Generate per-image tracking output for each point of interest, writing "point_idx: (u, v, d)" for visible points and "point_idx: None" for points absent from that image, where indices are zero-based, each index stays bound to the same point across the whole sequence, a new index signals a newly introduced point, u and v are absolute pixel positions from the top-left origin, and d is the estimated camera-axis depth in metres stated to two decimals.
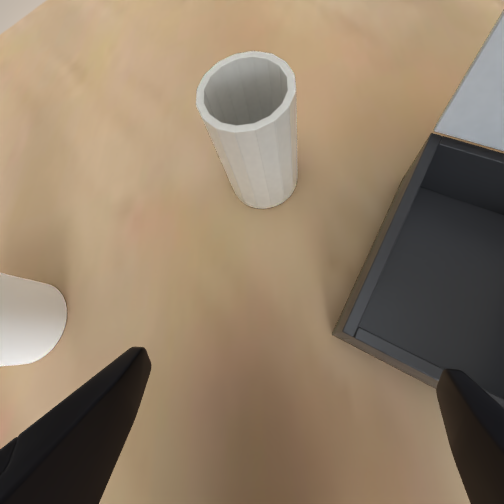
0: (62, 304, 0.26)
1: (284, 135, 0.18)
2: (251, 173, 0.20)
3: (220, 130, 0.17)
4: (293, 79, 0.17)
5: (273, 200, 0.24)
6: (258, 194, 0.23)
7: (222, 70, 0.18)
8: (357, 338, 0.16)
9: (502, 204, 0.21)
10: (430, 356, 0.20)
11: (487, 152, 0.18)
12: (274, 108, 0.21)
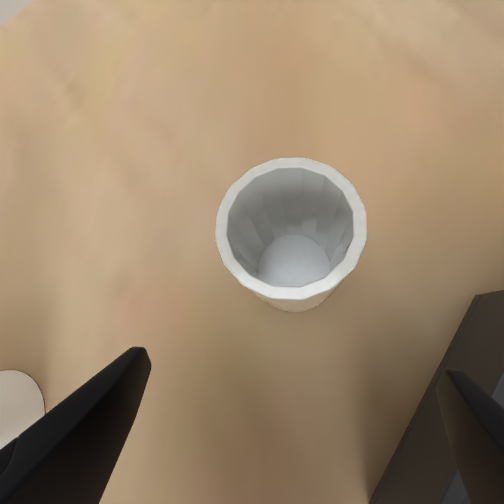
0: (39, 406, 0.21)
1: (338, 284, 0.13)
2: (283, 306, 0.15)
3: (248, 288, 0.11)
4: (363, 219, 0.11)
5: (304, 310, 0.19)
6: (287, 309, 0.18)
7: (256, 180, 0.13)
8: None
9: None
10: None
11: None
12: (320, 213, 0.16)
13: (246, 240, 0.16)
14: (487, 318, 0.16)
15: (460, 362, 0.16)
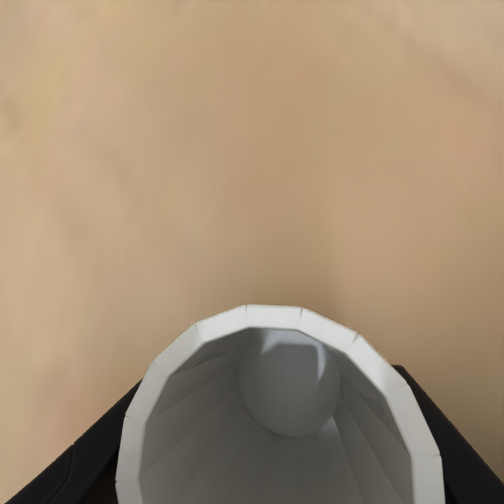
0: None
1: None
2: None
3: None
4: (438, 482, 0.05)
5: None
6: None
7: (206, 345, 0.06)
8: None
9: None
10: None
11: None
12: None
13: (208, 383, 0.10)
14: None
15: None
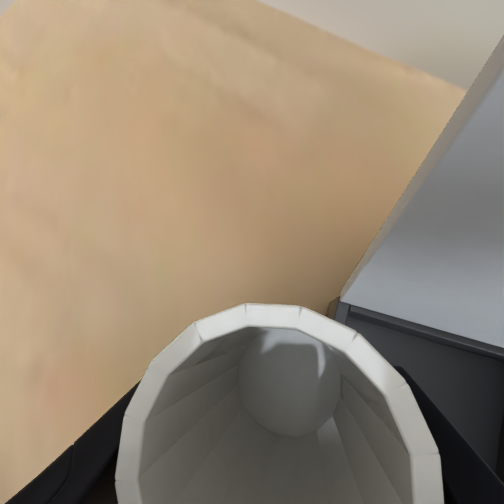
0: None
1: None
2: None
3: None
4: (436, 480, 0.05)
5: None
6: None
7: (205, 344, 0.06)
8: None
9: (433, 340, 0.19)
10: None
11: None
12: (330, 347, 0.09)
13: (208, 382, 0.10)
14: None
15: None
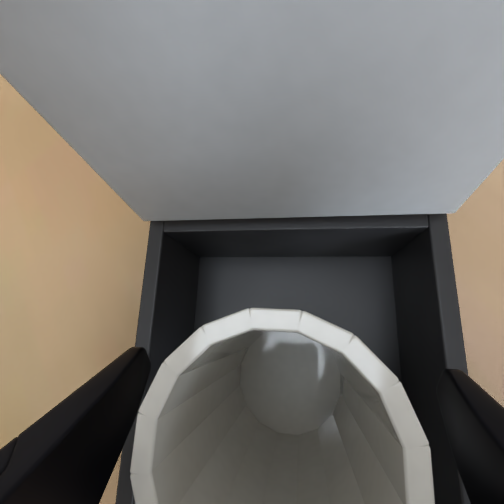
0: None
1: None
2: None
3: None
4: (427, 470, 0.05)
5: None
6: None
7: (213, 346, 0.07)
8: None
9: (298, 252, 0.16)
10: None
11: (222, 221, 0.13)
12: None
13: (213, 382, 0.10)
14: None
15: None
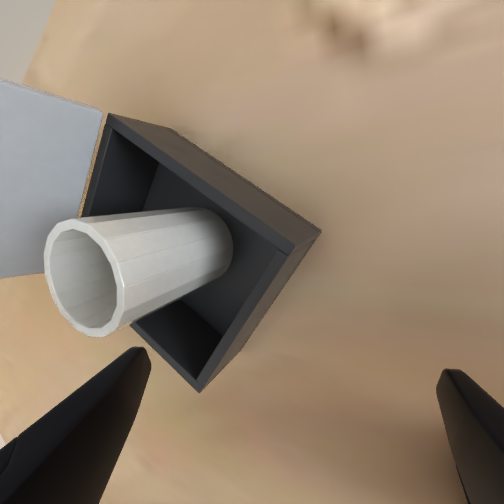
0: None
1: (151, 264, 0.15)
2: (177, 295, 0.17)
3: (108, 334, 0.14)
4: (92, 230, 0.13)
5: (224, 262, 0.21)
6: (207, 280, 0.20)
7: (55, 275, 0.16)
8: (203, 384, 0.19)
9: (136, 196, 0.24)
10: (255, 286, 0.22)
11: None
12: None
13: None
14: None
15: None
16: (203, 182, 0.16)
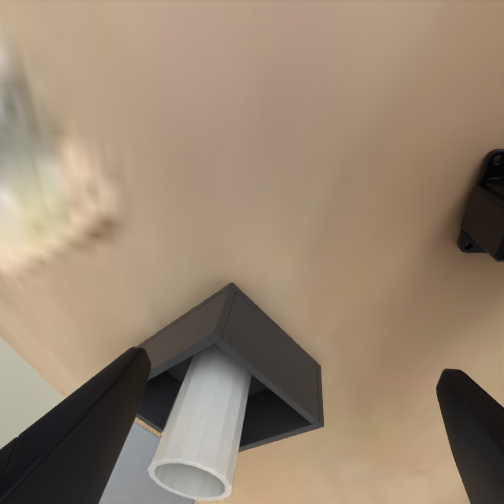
0: None
1: (195, 431, 0.20)
2: (235, 413, 0.23)
3: (230, 483, 0.20)
4: (156, 462, 0.19)
5: None
6: (241, 377, 0.25)
7: (186, 490, 0.22)
8: (317, 420, 0.23)
9: (174, 390, 0.30)
10: None
11: None
12: None
13: None
14: None
15: None
16: (160, 365, 0.22)
